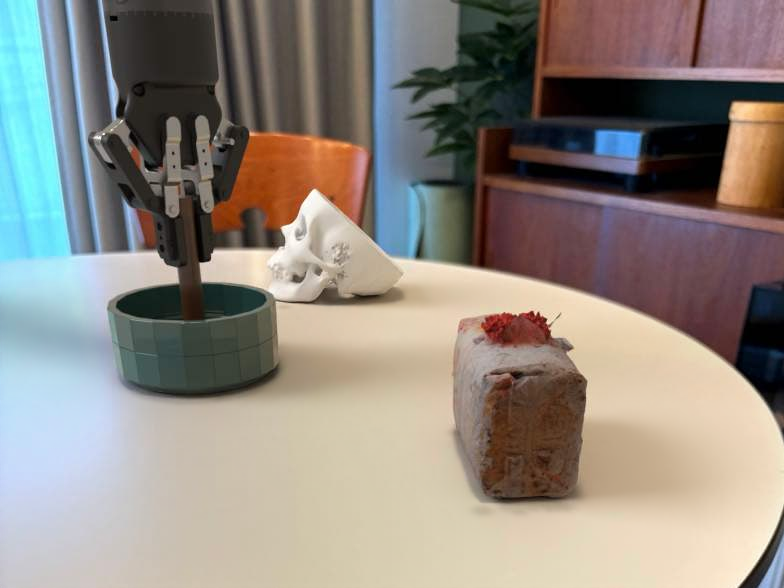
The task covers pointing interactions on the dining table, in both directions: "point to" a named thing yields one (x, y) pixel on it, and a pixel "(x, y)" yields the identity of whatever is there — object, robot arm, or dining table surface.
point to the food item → (518, 405)
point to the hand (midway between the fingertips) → (187, 262)
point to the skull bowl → (328, 256)
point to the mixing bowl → (194, 338)
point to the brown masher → (190, 265)
